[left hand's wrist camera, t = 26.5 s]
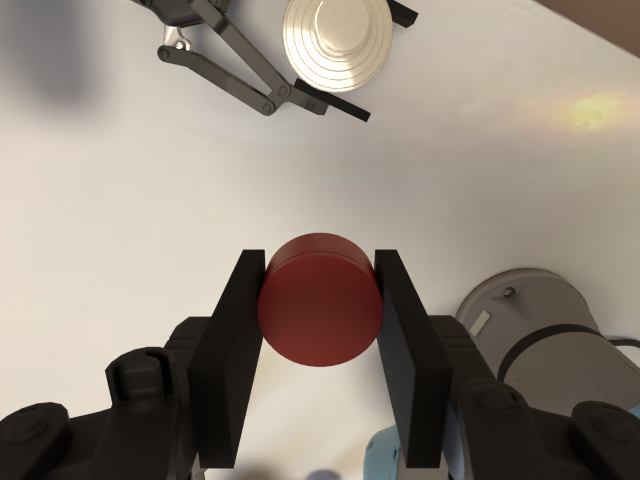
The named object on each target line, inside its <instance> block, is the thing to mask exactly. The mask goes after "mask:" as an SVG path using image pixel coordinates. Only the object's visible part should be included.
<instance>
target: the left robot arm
mask: <svg viewBox="0 0 640 480" xmlns="http://www.w3.org/2000/svg"><path fill="white" fill-rule="evenodd" d="M265 273H266V267H265V250H243V251H242V253H241V255H240V258H239V260H238V262H237V264H236V266H235V268H234V270H233V272H232V274H231V276H230V279H229V281H228V283H227V285H226V287H225V289H224V291H223V293H222V295H221V298H220V300H219V302H218V304H217V306H216V308H215V310H214V312H213V314H212V316H211V317H188V318H187V319H186V320H184V321H183V322H182V323H180V324H179V325H178V326H176V328H175V329H174V331H173V333H172V334H171V336H170V338H169V340H168V341H167V343H166V344H165V346H164V348H161V347H144V348H140V349H135V350H132V351H130V352H127V353H125V354H123V355H121V356H119V357H118V358H117V359H115V360H114V361H112V362H111V363H110V365H109V366H108V367H107V368H106V370H105V373H106V377H107V382H108V386H109V391H110V395H111V400H112V407H111V408H109V409H106V410H103V411H100V412H96V413H91V414H87V415H83V416H78V417H74V418H69V415H68V411H67V409H66V408H65V407H64V406H63V405H62V404H58V403H53V402H47V403H37V404H34V405H31V406H28V407H25V408H22V409H20V410H18V411H16V412H14V413H12V414H10V415H8V416H6V417H5V418H4V419H3V420H1V421H0V480H193V476H192V467H193V464H194V461H195V458H196V455H197V452H198V456H199V463H200V468H234V464H235V460H236V456H237V451H238V447H239V442H240V438H241V433H242V429H243V425H244V420H245V416H246V411H247V407H248V403H249V398H250V394H251V389H252V385H253V381H254V376H255V372H256V367H257V363H258V358H259V354H260V350H261V345H262V341H263V335H262V333H261V330H260V328H259V325H258V315H257V301H258V297H259V293H260V290H261V287H262V283H263V280H264V276H265ZM374 273H375V276H376V279H377V283H378V286H379V289H380V293H381V296H382V300H383V310H382V325H381V328H380V331H379V333H378V335H377V337H376V338H377V342H378V346H379V351H380V355H381V360H382V364H383V368H384V373H385V377H386V382H387V386H388V391H389V395H390V399H391V404H392V408H393V413H394V417H395V421H396V425H393V426H391V427H388V428H386V429H384V430H381V431H379V432H377V433H376V434H375V435H374V436H373V437H372V438H371V439H370V441H369V443H368V445H367V448H366V453H365V457H364V468H363V480H640V368H639V367H638V366H637V365H635V364H634V363H633V362H632V361H631V360H630V359H629V358H627V357H626V356H625V355H624V354H623V353H622V352H621V351H619V350H618V349H617V348H616V347H615V346H623V345H627V346H634V347H638V348H640V342H639V341H635V340H627V339H622V340H607V339H606V338H604V337H603V336H602V335H601V333H600V331H599V329H598V327H597V325H596V323H595V321H594V319H593V317H592V315H591V313H590V311H589V308H588V306H587V303H586V301H585V299H584V298H583V297H582V295H581V294H580V293H579V292H578V291H577V290H576V289H575V288H574V287H573V286H571V285H570V284H569V283H568V282H566V281H565V280H564V279H562V278H561V277H559V276H557V275H555V274H553V273H550V272H547V271H543V270H538V269H519V270H513V271H509V272H505V273H502V274H500V275H497V276H495V277H493V278H491V279H489V280H487V281H485V282H484V283H483V284H481V285H480V286H478V287H477V288H476V289H475V290H474V291H473V292H472V293H471V294H470V295H469V296H468V297H467V298H466V299H465V301H464V302H463V304H462V305H461V307H460V309H459V311H458V313H457V316H456V318H453V317H452V316H451V315H427V313H426V311H425V309H424V307H423V304H422V302H421V300H420V298H419V296H418V294H417V292H416V290H415V288H414V285H413V283H412V281H411V279H410V277H409V275H408V273H407V271H406V269H405V267H404V264H403V262H402V260H401V258H400V256H399V254H398V252H397V250H375V262H374Z"/></svg>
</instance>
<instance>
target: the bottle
mask: <svg viewBox="0 0 640 480" xmlns="http://www.w3.org/2000/svg"><path fill="white" fill-rule="evenodd" d="M392 37H393V23H392V17H391V12H390V9H389V6H388V4H387V1H386V0H290V1H289V3H288V5H287V8H286V11H285V14H284V18H283V25H282V39H283V46H284V50H285V53H286V56H287V58H288V61H289V63H290V64H291V66H292V68H293V69H294V71H295V72H296V73H297V74H298V75H299V77H300V78H301V79H303V80H304V81H305V82H306V83H307V84H309V85H311V86H312V87H314V88H316V89H319V90H322V91H325V92H331V93H342V92H348V91H352V90H355V89H357V88H359V87H361V86H363V85H365V84H366V83H367V82H369V81H370V80H371V79H372V78H373V77H374V76H375V75H376V74H377V73H378V72H379V70H380V69H381V68H382V66H383V65H384V63H385V61H386V59H387V57H388V54H389V51H390V48H391V43H392Z"/></svg>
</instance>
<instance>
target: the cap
mask: <svg viewBox="0 0 640 480" xmlns="http://www.w3.org/2000/svg"><path fill="white" fill-rule="evenodd" d="M382 310H383V300H382V296H381V293H380V289H379V286H378V283H377V279H376V276H375V273H374V269H373V267H372V264H371V262H370V260H369V259H368V257H367V255H366V254H365V253H364V252H363V251H362V250H361V249H360V248H359V247H358V246H357V245H356V244H354V243H353V242H351V241H349V240H348V239H346V238H343V237H341V236H338V235H334V234H329V233H311V234H306V235H302V236H299V237H297V238H294V239H292V240H291V241H289V242H287V243H286V244H284V245H283V246H282V247H281V248H280V249H279V250H278V251H277V252H276V253H275V254H274V256H273V257H272V259H271V260H270V262H269V264H268V267H267V269H266V273H265V276H264V280H263V283H262V287H261V290H260V293H259V297H258V301H257V315H258V325H259V328H260V330H261V333H262V335H263V336H264V338H265V340H266V341H267V342H268V344H269V345H270V346H271V347H272V348H273V349H274V350H275V351H276V352H278V353H279V354H280V355H282V356H283V357H285V358H286V359H289V360H291V361H293V362H295V363H298V364H302V365H306V366H313V367H327V366H334V365H338V364H342V363H345V362H347V361H349V360H351V359H354V358H355V357H357V356H358V355H360V354H361V353H363V352H364V351H365V350H366V349H367V348H368V347H369V346H370V345H371V344H372V343H373V341H374V340H375V338H376V337H377V335H378V333H379V331H380V328H381V325H382Z"/></svg>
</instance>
